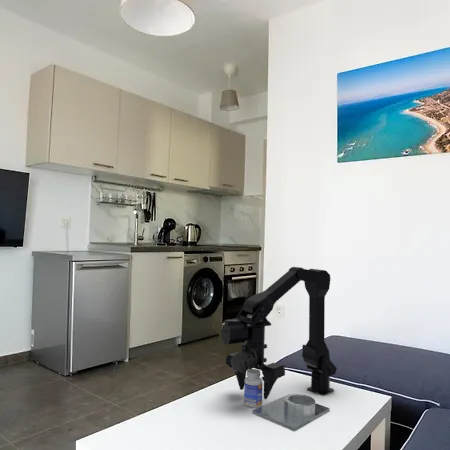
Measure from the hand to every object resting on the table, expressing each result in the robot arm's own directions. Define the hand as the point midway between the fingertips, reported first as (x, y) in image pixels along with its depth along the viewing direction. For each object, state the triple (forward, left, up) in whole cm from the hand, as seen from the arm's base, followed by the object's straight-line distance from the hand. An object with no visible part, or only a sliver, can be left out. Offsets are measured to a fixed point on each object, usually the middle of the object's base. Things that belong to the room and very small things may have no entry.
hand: (253, 394), depth 117 cm
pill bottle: (0, 0, -3) cm, 3 cm away
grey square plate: (-4, +11, -3) cm, 12 cm away
